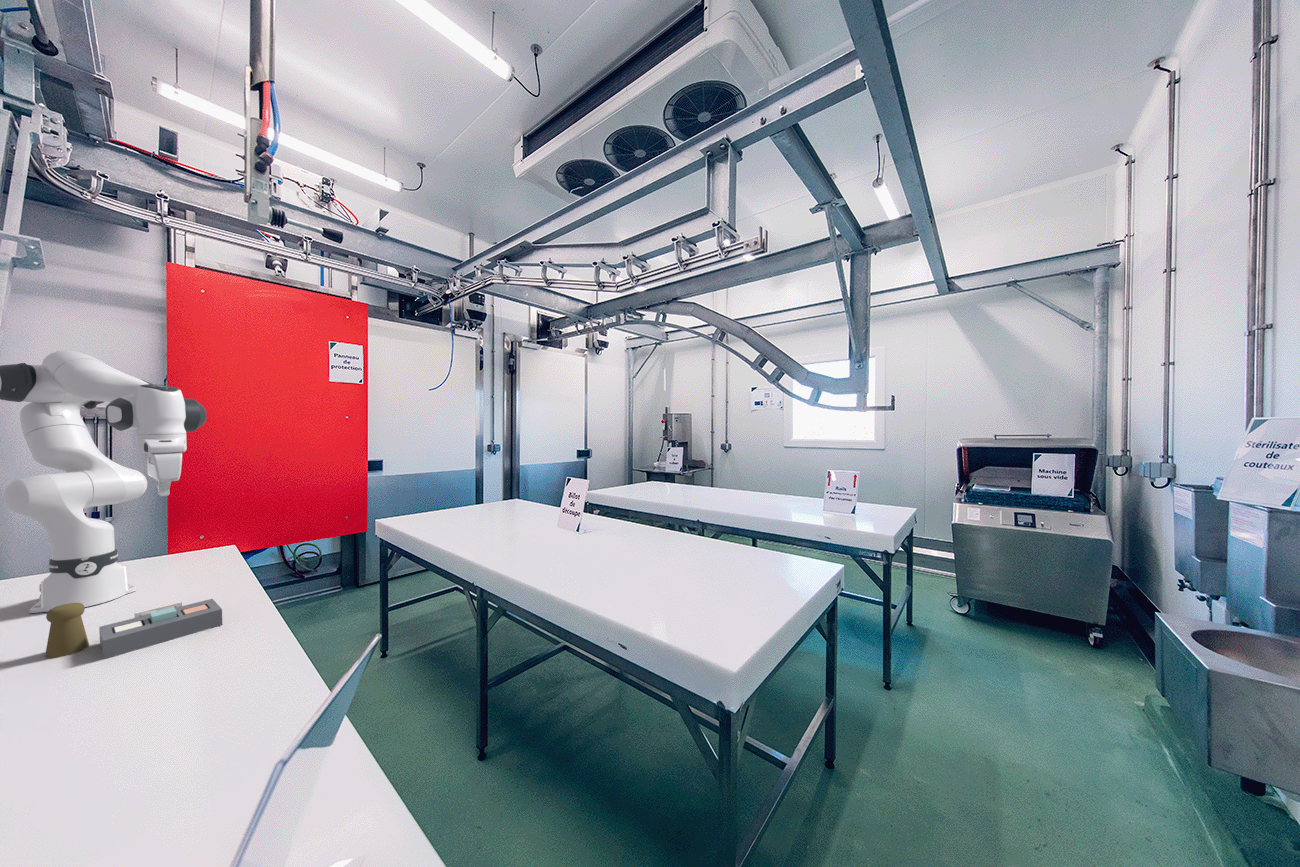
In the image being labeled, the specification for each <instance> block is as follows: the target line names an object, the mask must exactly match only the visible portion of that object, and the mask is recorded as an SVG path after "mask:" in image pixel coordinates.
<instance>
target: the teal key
mask: <svg viewBox="0 0 1300 867" xmlns="http://www.w3.org/2000/svg"><path fill="white" fill-rule="evenodd" d="M175 617H177V611H176V609H175V608H174V607H171V608H167V609H162V610H158V611H154V612H150V624H152V623H156V622H160V621H164V620H168V619H171V618H175Z"/></svg>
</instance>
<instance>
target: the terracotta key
mask: <svg viewBox="0 0 1300 867" xmlns="http://www.w3.org/2000/svg"><path fill="white" fill-rule="evenodd" d="M206 609H208V608H207V606H206V605H205V604H204V605H201V606H197V607H193V608H189V609H185V610H183V615H187V614H191V613H194V612H198V611H202V610H206Z"/></svg>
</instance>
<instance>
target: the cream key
mask: <svg viewBox="0 0 1300 867" xmlns="http://www.w3.org/2000/svg"><path fill="white" fill-rule="evenodd" d="M141 626H143V625H142V623H141V621H138V622H134V623H130V624H126V625H122V626H118V627H114V633H118V632H122V631H126V630H129V629H133V628H137V627H141Z"/></svg>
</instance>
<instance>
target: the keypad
mask: <svg viewBox="0 0 1300 867" xmlns="http://www.w3.org/2000/svg"><path fill="white" fill-rule="evenodd" d="M204 604H205V605H206V606H207V608H208V609H206V610H202V611H198V612H194V613H191V614H187V615H183V610H185V609H189V608H193V607H197V606H201V605H204ZM171 607H174V608H175V609H176V611H177V617H175V618H171V619H168V620H164V621H160V622H156V623H152V624H150V612H154V611H158V610H162V609H167V608H171ZM138 621H141V623H142V625H143V626H141V627H137V628H133V629H129V630H126V631H122V632H118V633H114V627H118V626H122V625H126V624H130V623H134V622H138ZM221 626H223V609H222V607H221V606H220V605H219V604H218V603H217V602H216V601H215V599H213V598H209V599H205V600H202V601H198V602H194V603H190V604H185V605H183V602H182V601H178V602H175V603H174V602H173V603H170V604H167V605H162V606H157V607H154V608H150V609H149V608H148V609H145V610H141V611H137V612H134V618H133V617H132V618H129V619H126V620H121V621H117V622H113V623H109V624H106V625H105V624H104V625H101V626H99V628H98V629H99V630H98V631H99V646H100V650H101V654H102V659H103V660H106V659H109V658H113V657H116V656H120V655H124V654H126V653H130V652H134V651H138V650H140V649H144V648H147V647H151V646H155V645H158V644H162V643H164V642H169V641H172V640H175V639H178V638H182V637H185V636H189V635H193V634H196V633H199V632H202V631H206V630H210V629H214V628H216V627H217V628H218V627H221Z"/></svg>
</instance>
